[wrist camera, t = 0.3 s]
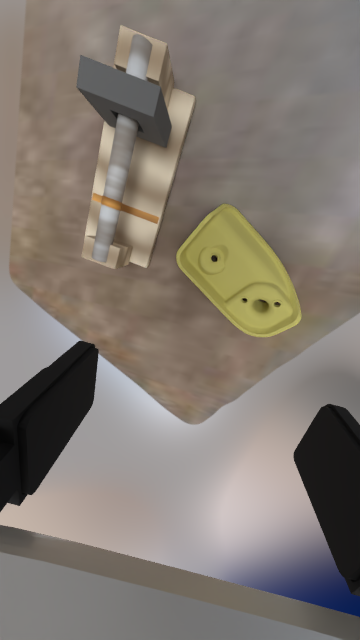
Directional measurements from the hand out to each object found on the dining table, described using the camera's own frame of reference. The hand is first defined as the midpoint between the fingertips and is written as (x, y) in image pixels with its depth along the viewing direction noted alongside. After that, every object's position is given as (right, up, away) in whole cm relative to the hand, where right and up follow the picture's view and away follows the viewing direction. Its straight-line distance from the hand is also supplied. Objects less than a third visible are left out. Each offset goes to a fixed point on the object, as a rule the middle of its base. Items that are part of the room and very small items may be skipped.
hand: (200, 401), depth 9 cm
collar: (-6, +29, +19) cm, 35 cm away
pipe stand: (-8, +24, +24) cm, 35 cm away
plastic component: (+9, +11, +28) cm, 32 cm away
